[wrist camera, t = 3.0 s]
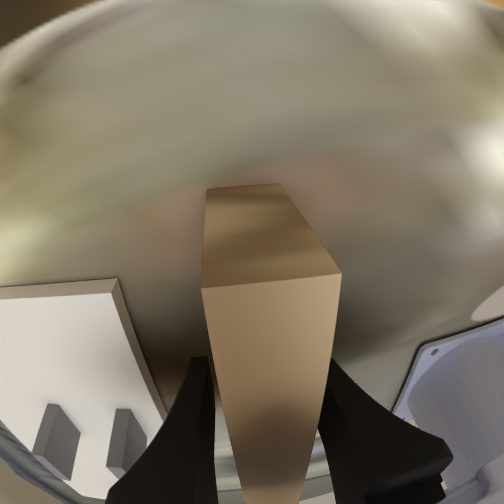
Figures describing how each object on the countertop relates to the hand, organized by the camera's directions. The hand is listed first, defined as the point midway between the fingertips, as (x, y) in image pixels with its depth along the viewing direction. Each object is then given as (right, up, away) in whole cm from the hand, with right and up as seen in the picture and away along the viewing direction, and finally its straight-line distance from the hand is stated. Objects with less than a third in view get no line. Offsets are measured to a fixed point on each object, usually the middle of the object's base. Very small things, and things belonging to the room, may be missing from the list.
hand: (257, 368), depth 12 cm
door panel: (0, +1, +1) cm, 2 cm away
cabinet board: (-11, -8, +4) cm, 14 cm away
